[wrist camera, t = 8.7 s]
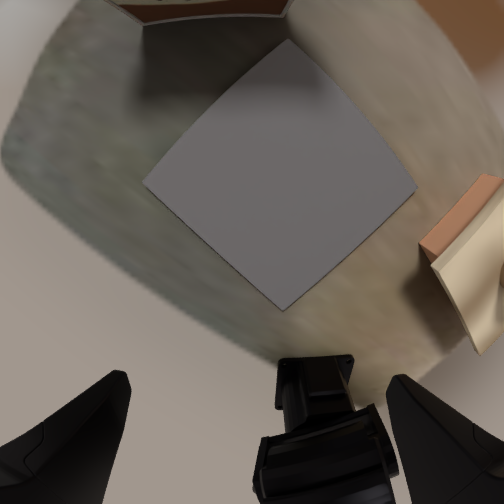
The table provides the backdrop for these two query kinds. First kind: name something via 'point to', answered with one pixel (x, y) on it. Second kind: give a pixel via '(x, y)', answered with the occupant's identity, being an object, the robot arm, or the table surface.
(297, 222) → the mat
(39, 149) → the table surface
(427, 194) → the table surface
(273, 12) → the food container
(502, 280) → the lid
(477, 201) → the open box
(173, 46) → the table surface
